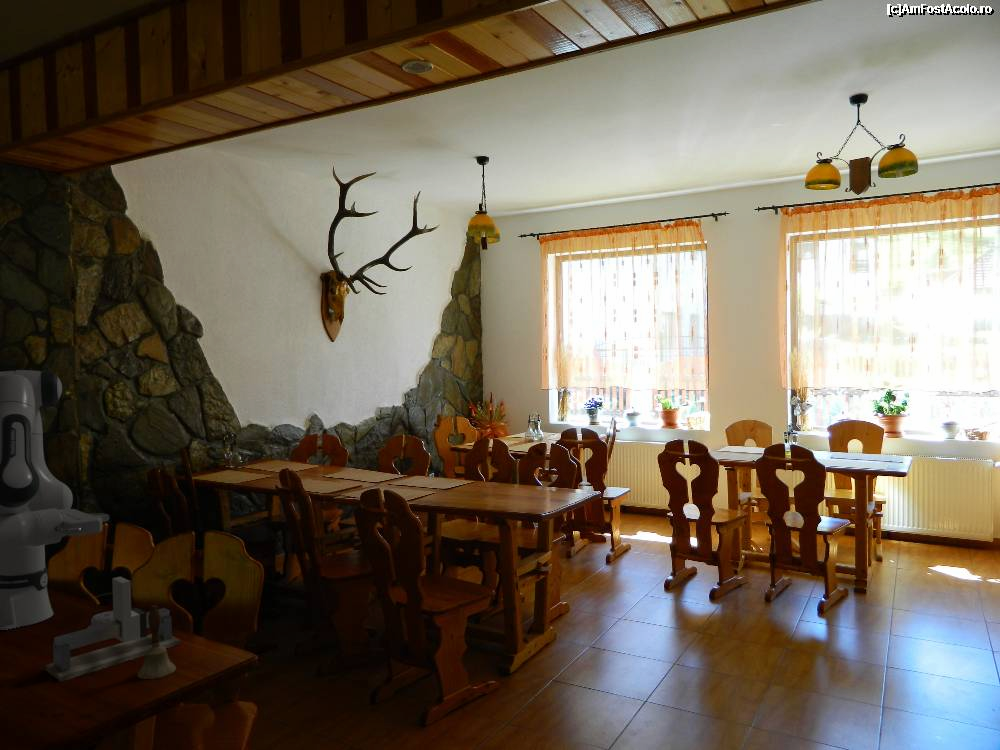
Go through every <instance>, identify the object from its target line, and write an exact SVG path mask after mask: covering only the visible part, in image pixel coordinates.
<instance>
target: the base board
mask: <svg viewBox="0 0 1000 750" xmlns="http://www.w3.org/2000/svg"><path fill="white" fill-rule="evenodd" d="M159 641H160V646H164V647H165V648H168V649H170V647H171V648H173V646H174V647H176V646H175V645H177V646H179V645H178V644H180V645H181V639H179V638H177V637H175V636H173V635H172V639H170V640H166V641H163V640H161V639H160V638H159ZM151 647H152V633H150V634H147V636H146V637H142V638H139V639H135V640H132V641H129V642H125V643H123V642H120V643H116V644H114V645H110V646H106V647H103V648H100V649H96V650H94V651H93V650H92V651H89V652H86V653H82V654H78V655H76V656H72V657H70V665H71V670H67V671H64V672H60V671H59V670H58V669H56V668H55V667H54V662H52V663H49V664H45V671H46V672H48V673H49V674H50V675H51V676H52V677H54V678H55V679H56V680H57V681H58V682H60V683H61V682H65V681H68V680H72V679H74V677H75V678H77V676H78V677H80V675H81V676H84V675H87V674H90V672H91V673H94V672H97V671H99V670H103V668H104V669H106V668H110V667H113V666H115V665H119V664H122V663H125V661H126V662H129V661H132V660H135V658H136V659H139V658H142V657H145V656H146V651H147V650H148V649H150V648H151ZM141 656H142V657H141ZM138 657H139V658H138ZM128 660H129V661H128ZM93 671H94V672H93ZM86 673H87V674H86ZM83 674H84V675H83Z"/></svg>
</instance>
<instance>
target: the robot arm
mask: <svg viewBox="0 0 1000 750" xmlns="http://www.w3.org/2000/svg"><path fill="white" fill-rule="evenodd" d="M62 394H63V384H62V382H61V378H59V375H58V374H57V373H56V372H54V371H50V370H41V371H40V370H30V369H29V370H27V369H16V370H8V371H7V370H5V371H0V630H7V631H9V630H8V629H11V630H13V629H12V628H14V629H17V628H21V626H22V627H25V626H31V625H34V624H37V623H40V622H44V621H45V620H47V619H49V618H51V617H52V616H53V615H54V611H53V609H52V605H51V602H50V598H49V593H48V580H49V579H48V578H49V577H48V567H47V566H46V550H45V549H46V548H45V546H46V545H52V544H58V543H60V542H61V540H62V538H63V537H80V536H88V535H93V534H94V535H95V534H99V533H101V532H102V531H103V523H106V522H109V521H110V515H109V514H107V513H104V512H102V513H85V512H83V511H80V510H78V509H74V508H72V505H73V501H74V497H73V493H72V490H71V489H70V487H69V486H68V485H66V483H63V482H62V481H60V480H58V479H57V478H56V477H55V476H54V475H53V474H52V473H51V471H50V470H49V468H48V466H47V464H46V461H45V454H44V438H43V437H44V436H43V435H44V434H43V432H44V431H43V421H42V417H41V411H40V409H41V408H43V410H44V413H46V412H48V409H50V408H52V407H54V406H55V405H56V404H58V402H59V401H60V398H61V395H62ZM16 627H17V628H16Z"/></svg>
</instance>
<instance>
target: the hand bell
mask: <svg viewBox="0 0 1000 750" xmlns="http://www.w3.org/2000/svg"><path fill="white" fill-rule="evenodd" d="M149 612H150V613H149V617H148V620H149V629H150V632H151V634H152V647H151V648H150V649H148V650H147V651H146V655H145V656H144V662H143V664H142V667H141V669H139V670H138V672H137V678H138V679H140V680H145V679H151V680H157V678H158V679H162V678H164V677H168V676H169V674H170V675H171V674H173V673H174V672H176V669H177V667H176V664H174V663H173V662H172V661H171V660H170V658H169V655H168V651H167V649H166V648H165V647H164V646H160V641H159V627H160V613H159V610H158V606H157V604H153V605H151V606H150V609H149ZM167 675H168V676H167Z"/></svg>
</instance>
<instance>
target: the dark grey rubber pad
mask: <svg viewBox="0 0 1000 750" xmlns="http://www.w3.org/2000/svg"><path fill="white" fill-rule="evenodd" d="M131 610H132V611H134V612H136V613H138V614H140V638H142V637H146V636H147V635H148V634H147V633H148V631H147V629H148V628H147V624H146V613H147V612H145V611H143V610H141V609H140V608H138V607H134V608H131Z"/></svg>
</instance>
